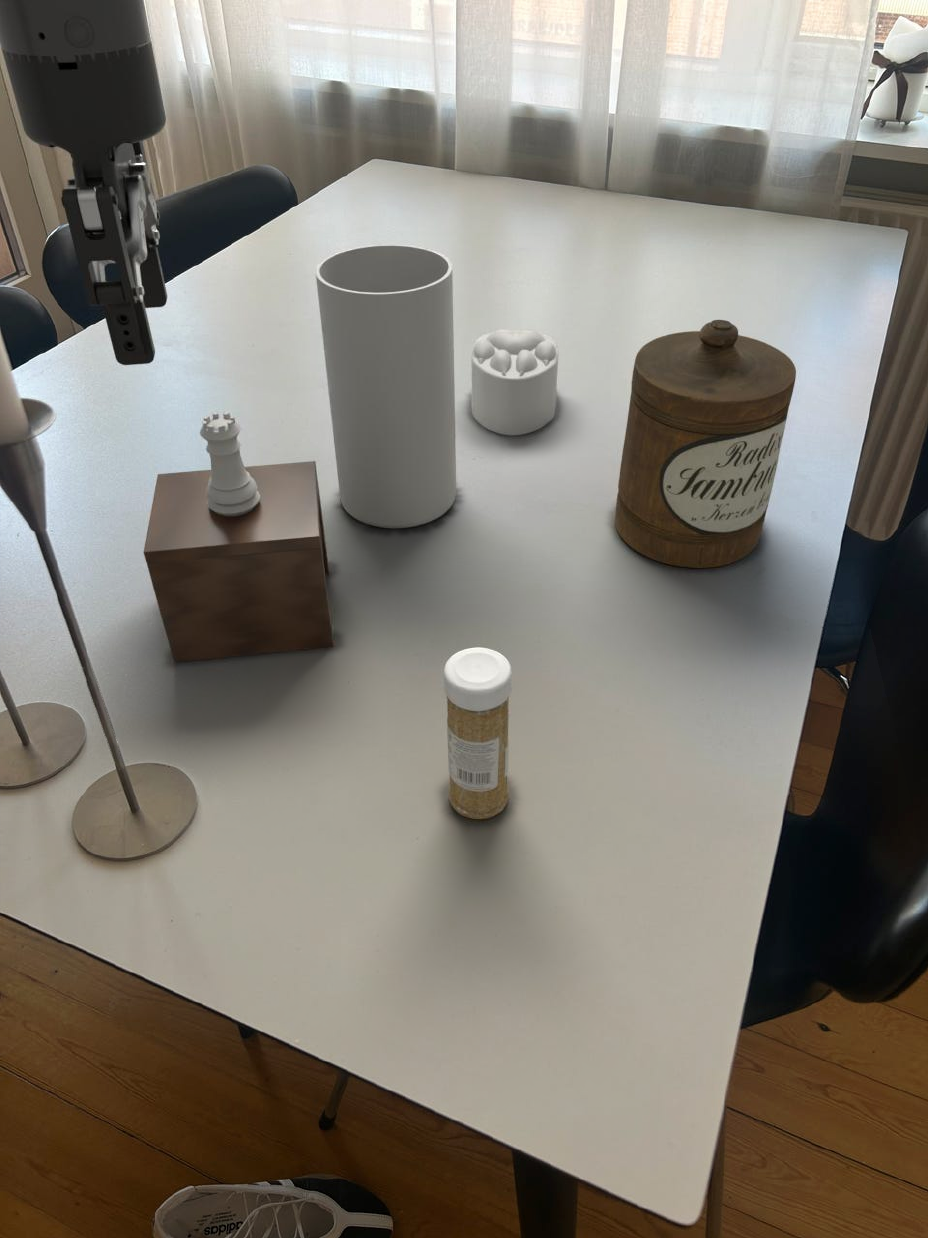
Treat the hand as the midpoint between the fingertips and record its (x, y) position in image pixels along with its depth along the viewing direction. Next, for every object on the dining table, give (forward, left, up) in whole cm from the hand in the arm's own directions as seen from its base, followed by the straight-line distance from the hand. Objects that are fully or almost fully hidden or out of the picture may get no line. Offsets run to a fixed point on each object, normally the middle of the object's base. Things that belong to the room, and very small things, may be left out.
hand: (144, 332), depth 61 cm
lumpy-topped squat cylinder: (+33, +46, -32) cm, 65 cm away
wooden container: (+46, +18, -32) cm, 59 cm away
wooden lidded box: (+2, +11, -32) cm, 34 cm away
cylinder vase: (+17, +28, -32) cm, 46 cm away
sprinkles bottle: (+19, -14, -32) cm, 40 cm away
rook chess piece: (+2, +11, -20) cm, 23 cm away
